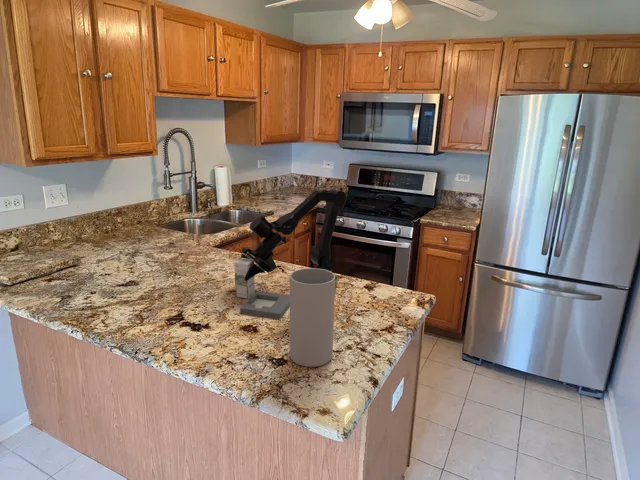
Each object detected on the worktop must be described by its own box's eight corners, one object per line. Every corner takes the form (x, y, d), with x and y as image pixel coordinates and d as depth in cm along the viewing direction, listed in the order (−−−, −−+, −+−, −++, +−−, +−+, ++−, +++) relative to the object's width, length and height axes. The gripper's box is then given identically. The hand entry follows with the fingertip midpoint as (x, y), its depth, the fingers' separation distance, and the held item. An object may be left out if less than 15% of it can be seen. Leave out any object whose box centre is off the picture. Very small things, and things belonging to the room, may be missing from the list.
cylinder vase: (282, 362, 121) (282, 280, 114) (299, 341, 132) (300, 265, 125) (323, 372, 117) (326, 287, 110) (338, 350, 128) (341, 271, 121)
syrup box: (255, 294, 166) (254, 258, 162) (248, 299, 161) (247, 263, 157) (242, 291, 168) (241, 257, 164) (235, 297, 163) (233, 261, 159)
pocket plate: (294, 300, 161) (294, 295, 161) (280, 319, 146) (280, 313, 146) (257, 295, 165) (257, 290, 164) (240, 313, 150) (239, 308, 149)
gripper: (292, 264, 160) (264, 296, 158) (272, 250, 176) (247, 280, 174) (272, 247, 154) (244, 280, 152) (253, 234, 170) (227, 264, 168)
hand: (241, 276), depth 161 cm, fingers closed on syrup box, 8 cm apart
